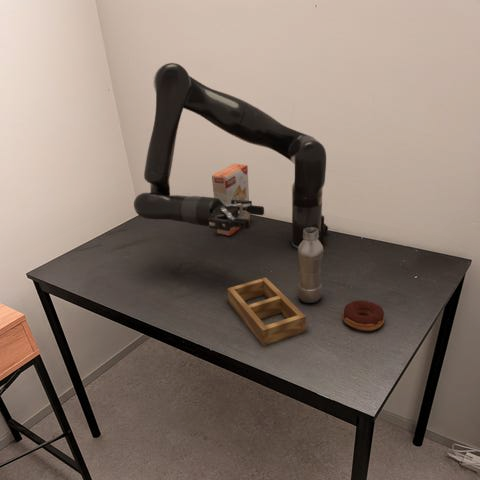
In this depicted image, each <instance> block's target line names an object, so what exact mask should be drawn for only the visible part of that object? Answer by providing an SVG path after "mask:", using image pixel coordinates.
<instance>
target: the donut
mask: <svg viewBox="0 0 480 480" xmlns="http://www.w3.org/2000/svg"><path fill="white" fill-rule="evenodd" d="M342 320H343V322H344V323H345V324H346V325H348V326H349V327H351V328H352V329H356V330H358V331H359V330H360V331H364V332H365V331H366V332H372V331H376V330H377V329H379V328H381V327H382V326H383V325H384V323H385V312H384V310H383V307H381V306H380V305H379V304H377V303H374V302H372V301H367V300H353V301H351V302H348V303H347V304H346V305H345V306H344V308H343V312H342Z"/></svg>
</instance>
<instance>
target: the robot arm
mask: <svg viewBox="0 0 480 480" xmlns="http://www.w3.org/2000/svg"><path fill="white" fill-rule="evenodd" d="M152 83H153V84H152V85H153V89H154V92H155V115H154V122H153V126H152V132H151V135H150V138H149V143H148V148H147V153H146V159H145V165H144V171H143V178H144V179H143V180H145V181H146V182H147V183H148V184H150V192H149V191H148V192H146V191H145V192H141V193H139V194H138V195H137V196H136V197H135V198H134V200H133V209H134V211H135V213H136V214H137V215H138V216H139V217H141V218H142V219H148V220H167V221H168V220H170V221H173V222H181V223H188V224H191V225H197V226H203V227H209V229H213V230H217V229H218V230H224V231H230V228H236V227H239V228H240V229H250V228H251V219H250V220H249V219H242V218H237V217H243V215H245V214H250V215H255V216H263V215H265V206H262V205H253V201H252V200H249V201H246V200H231V204H225V205H224V204H223V203H222V202H221V200H220V199H218V198H214V197H212V196H201V195H181V194H171V185H170V179H171V178H170V177H171V172H172V168H173V161H174V155H175V147H176V141H177V134H178V128H179V124H180V121H181V117H182V114H183V110H184V109H185V110H187V111H189V112H192V113H194V114H196V115H199V116H200V117H202V118H203V119H205V120H207V122H210V123H211V124H212V125H214V126H215V127H217V128H219V129H220V130H222V131H224V132H226V133H227V134H229V135H231V136H232V137H235V138H237V139H238V140H241V141H243V142H246V143H248V144H251V145H253V146H259V147H263V148H267V149H270V150H272V151H274V152H276V153H278V154H280V155H281V156H282V157H284V158H286V159H287V160H289V161H290V162H291V163H293V165H294V181H293V183H292V185H291V230H292V231H291V237H292V238H291V246H292V247H293V248H294V249H297V250H298V247H299V245H300V243H301V242H302V241H303V240H304V239H303V231H304V229H305V228H309V227H314V228H317V229H318V235H319V238H318V240H319V241H320V243H321V244H322V245H324V237H325V236H324V235H325V234H327V233H328V230H329V226H328V225H327V224H326V223H325V216H324V215H323V191H324V190H323V188H324V187H325V183H326V171H327V152H326V151H327V150H326V147H324V145H323V144H322V143H321V142H320V141H319V140H317V139H316V138H315V137H314V136H311V135H309V134H306V133H303V132H300V131H298V130H296V129H293V128H291V127H288V126H286V125H284V124H282V123H281V122H280V121H278V120H276V119H275V118H274V117H273V116H271V115H270V114H268V113H267V112H265V111H263V110H262V109H260V108H259V107H256V106H254V105H253V104H251V103H249V102H247V101H245V100H243V99H242V98H238V97H236V96H234V95H231V94H228V93H226V92H222V91H219V90H217V89H214V88H211V87H209V86H207V85H205V84H203V83H201V82H200V81H199V80H197V79H195V78H194V77H192V76H191V75H190V74H189V72H188V71H187V70H186V68H185V67H184V66H182V65H181V64H179V63H174V62H168V63H165V64H163V65H162V66H160V67H159V68H158V69H157V70H156V72H155V74H154V76H153V82H152ZM238 210H239V211H240V212H239V214H238ZM235 218H236V219H235ZM222 223H223V224H225V227H224V226H223V225H222Z"/></svg>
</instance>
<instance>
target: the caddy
mask: <svg viewBox="0 0 480 480" xmlns="http://www.w3.org/2000/svg"><path fill="white" fill-rule="evenodd" d="M262 296H264V297H266V299H263V300H260V301H257V302H254V303H249V304H248V303H247V302H246V301H249V300H252V299H255V298H258V297H262ZM227 297H228V303H229V305H230V306H231V308H232V309H233V310H234V311H235V312H236V313H237V315H238V316H239V317H240V318H241V320H242V321H243V322H244V323H245V324H246V326H247V327H248V328H249V330H250V331H251V332H252V333H253V335H254V336H255V337H256V338H257V339H258V341H259V342H260V343H261V344H262V346H266V345H267V346H268V345H269V344H272V343H276V342H279V341H282V340H284V339H287V338H290V337H291V338H292V336H293V337H294V336H297V335H299V334H302V333H305V332H306V329H307V328H306V323H307V321H306V320H307V319H306V318H307V317H306V315H305V314H304V313H303V312H302V311H301V310H300V309H299V308H298V307H297V306H295V304H294V303H292V301H291V300H289V299H288V297H287V296H285V294H284V293H282V292H281V291H280V290H279V289H278V287H276V286H275V285H274V284H273V283H272V282H271V281H270V280H269V279H268V278H267V277H262V278H259V279H255V280H251V281H249V282H244V283H241V284H238V285H235V286H231V287H228V288H227ZM278 314H282V315H283V316H284V317H285V319H281V320H279V321H275V322H272V323H269V324H266V325H265V323H264V322H263V321H262V319H266V318H269V317H272V316H275V315H278Z"/></svg>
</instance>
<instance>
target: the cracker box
mask: <svg viewBox="0 0 480 480" xmlns="http://www.w3.org/2000/svg"><path fill="white" fill-rule="evenodd" d="M211 181H212V192H213V198H218V199H220V200H221V202H222V203H223V204H224V205H225V204H231V200H246V201H250V190H249V188H250V187H249V168H248V164H243V163H242V164H241V163H233V164H230V165H229V166H227V167H225V168H223V169H221V170H219V171H217V172H215V173H214V174H212V175H211ZM239 212H240V211H239V210H238V214H239ZM237 218H242V219H249V220H250V221H251V214H245V215H243V217H237ZM235 219H236V218H235ZM222 225H223V226H224V227H225V224H223V223H222ZM240 229H241V228H239V227H236V228H230V231H224V230H218V229H216V233H217V235H222V236H227V237H231V236H232V235H234V234H236V233H237V232H238V231H239V230H240Z"/></svg>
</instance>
